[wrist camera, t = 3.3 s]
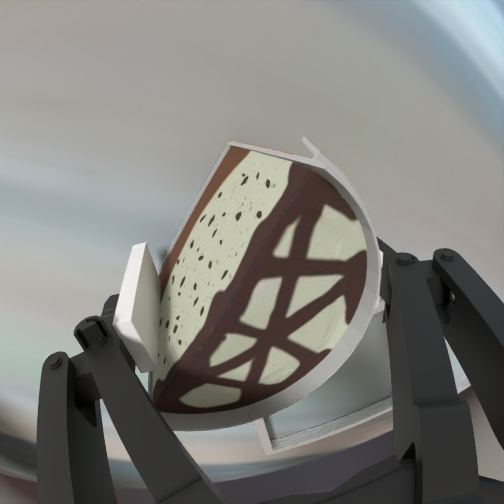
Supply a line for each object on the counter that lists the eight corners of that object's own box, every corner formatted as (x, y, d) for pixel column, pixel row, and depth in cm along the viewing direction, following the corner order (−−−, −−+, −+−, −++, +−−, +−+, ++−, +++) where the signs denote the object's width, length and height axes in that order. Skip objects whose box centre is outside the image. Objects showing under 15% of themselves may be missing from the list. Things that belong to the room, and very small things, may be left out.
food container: (227, 322, 22) (265, 446, 13) (145, 294, 19) (144, 433, 10) (328, 172, 18) (446, 247, 10) (244, 117, 15) (337, 147, 7)
